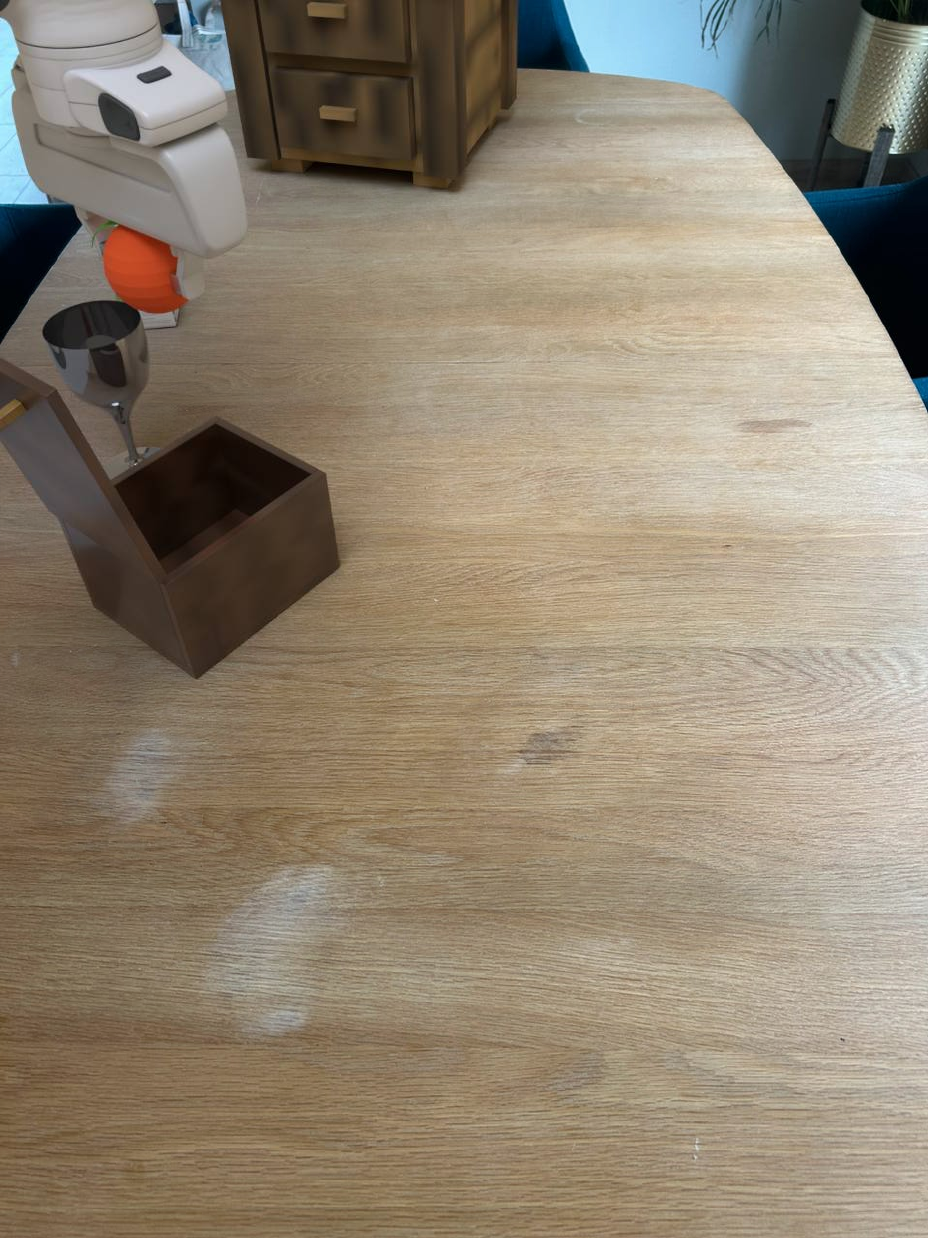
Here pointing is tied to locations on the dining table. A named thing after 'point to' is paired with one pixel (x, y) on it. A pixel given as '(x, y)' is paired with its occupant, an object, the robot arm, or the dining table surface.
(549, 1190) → the dining table surface
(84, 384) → the wine glass
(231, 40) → the wooden drawer cabinet
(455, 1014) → the dining table surface
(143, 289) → the clementine
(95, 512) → the lid
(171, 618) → the chest
